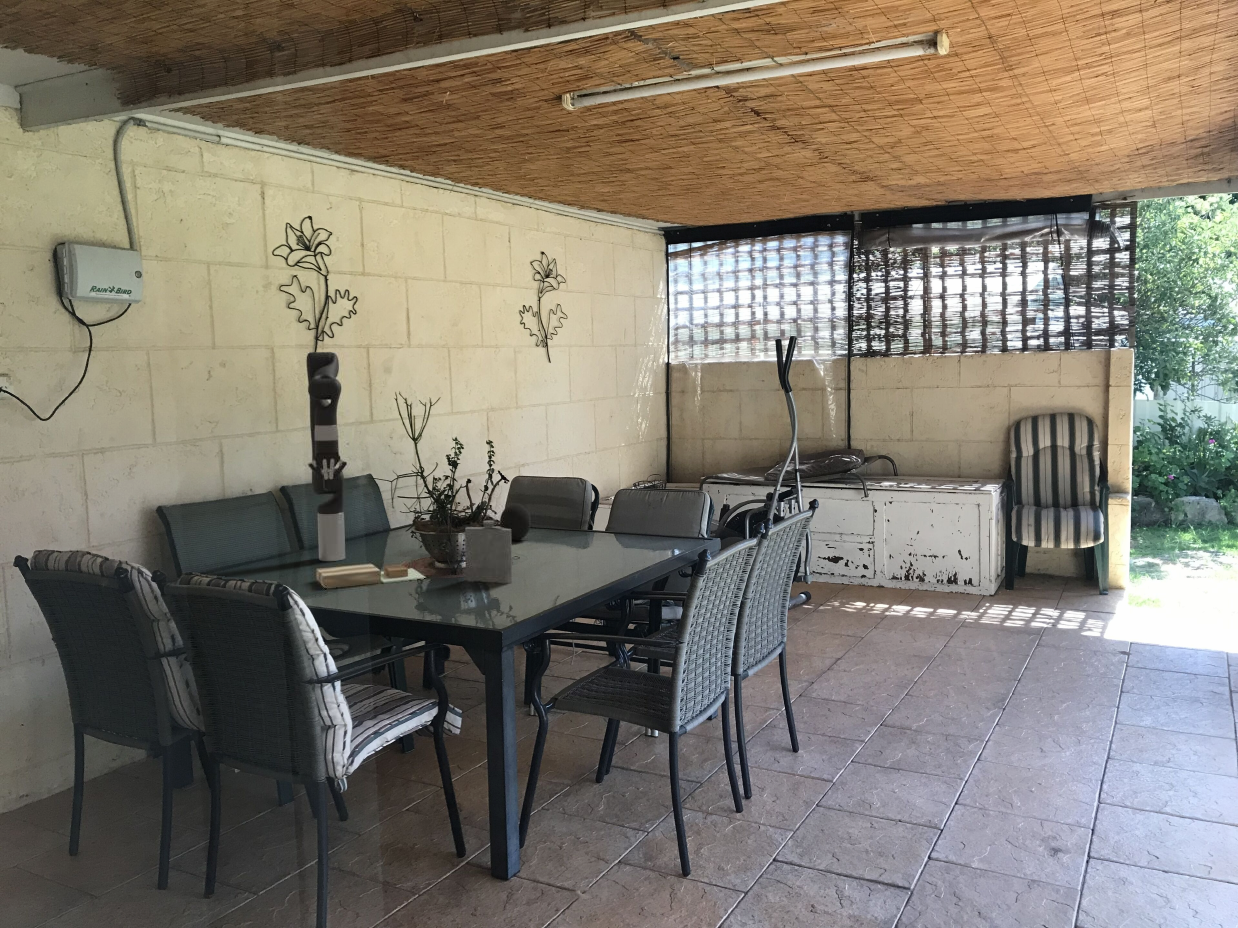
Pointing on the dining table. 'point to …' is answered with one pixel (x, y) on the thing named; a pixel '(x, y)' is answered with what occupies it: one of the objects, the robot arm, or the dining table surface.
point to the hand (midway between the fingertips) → (328, 490)
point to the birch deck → (348, 575)
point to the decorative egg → (516, 521)
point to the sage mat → (411, 576)
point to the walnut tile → (395, 571)
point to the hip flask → (488, 553)
